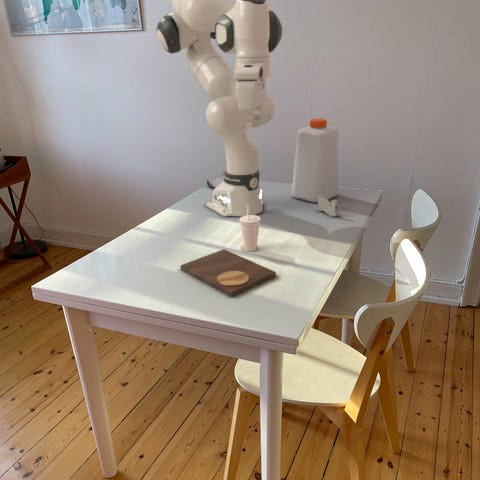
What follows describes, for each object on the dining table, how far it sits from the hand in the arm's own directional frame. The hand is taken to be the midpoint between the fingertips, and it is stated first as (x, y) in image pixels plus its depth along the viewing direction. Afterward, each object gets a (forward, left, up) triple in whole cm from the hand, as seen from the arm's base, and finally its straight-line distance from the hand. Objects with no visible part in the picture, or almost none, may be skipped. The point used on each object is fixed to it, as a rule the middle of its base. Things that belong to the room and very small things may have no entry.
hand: (253, 124), depth 138 cm
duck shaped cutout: (0, +36, -35) cm, 50 cm away
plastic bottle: (-17, +48, -35) cm, 62 cm away
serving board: (+11, -20, -35) cm, 42 cm away
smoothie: (+3, -4, -35) cm, 35 cm away
